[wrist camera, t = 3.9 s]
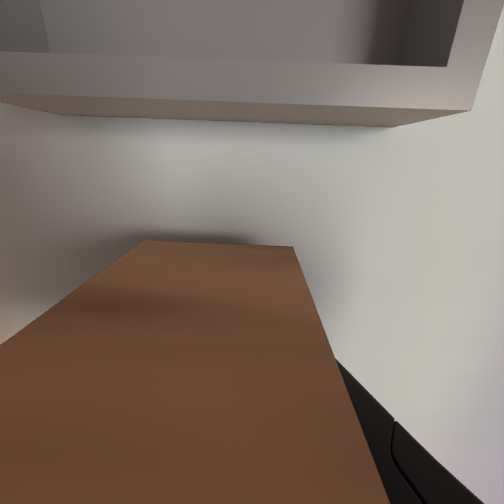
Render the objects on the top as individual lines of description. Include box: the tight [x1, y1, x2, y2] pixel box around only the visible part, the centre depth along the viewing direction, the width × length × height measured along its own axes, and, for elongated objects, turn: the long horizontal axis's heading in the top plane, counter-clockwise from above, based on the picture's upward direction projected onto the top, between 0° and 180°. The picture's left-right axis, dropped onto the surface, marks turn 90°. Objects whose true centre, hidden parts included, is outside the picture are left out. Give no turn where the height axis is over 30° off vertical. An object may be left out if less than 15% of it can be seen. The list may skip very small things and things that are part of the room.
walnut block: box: [0, 240, 390, 504], centre depth 6 cm, size 5×5×7 cm
